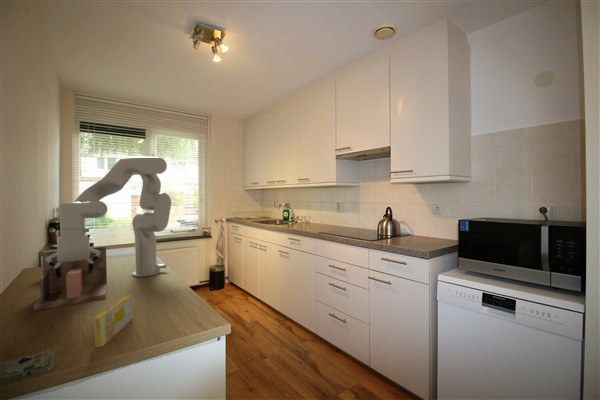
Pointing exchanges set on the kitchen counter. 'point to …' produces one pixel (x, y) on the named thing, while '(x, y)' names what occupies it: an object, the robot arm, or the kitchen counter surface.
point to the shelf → (91, 282)
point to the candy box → (112, 320)
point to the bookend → (47, 290)
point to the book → (74, 283)
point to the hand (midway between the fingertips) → (75, 274)
